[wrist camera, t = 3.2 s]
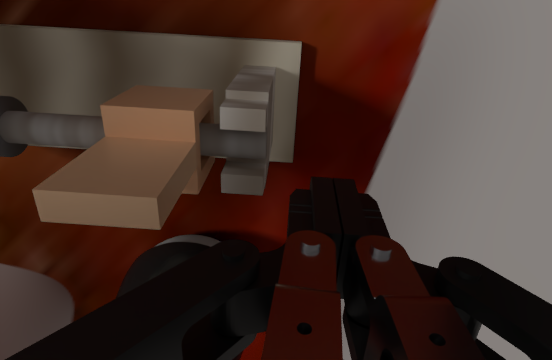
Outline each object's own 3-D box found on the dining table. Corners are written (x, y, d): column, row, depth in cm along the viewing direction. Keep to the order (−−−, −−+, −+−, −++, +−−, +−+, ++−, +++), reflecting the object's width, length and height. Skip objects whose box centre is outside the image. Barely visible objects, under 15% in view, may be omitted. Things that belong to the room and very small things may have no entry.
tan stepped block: (144, 155, 21) (50, 255, 13) (136, 85, 19) (20, 148, 11) (214, 160, 21) (163, 263, 13) (213, 89, 19) (152, 157, 11)
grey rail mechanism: (-48, 135, 28) (-201, 196, 19) (-90, 18, 24) (-301, 30, 15) (292, 157, 27) (291, 230, 18) (301, 41, 23) (304, 66, 15)
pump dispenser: (276, 232, 30) (259, 426, 16) (243, 319, 35) (209, 528, 21) (152, 197, 29) (27, 373, 16) (136, 291, 34) (28, 491, 20)
